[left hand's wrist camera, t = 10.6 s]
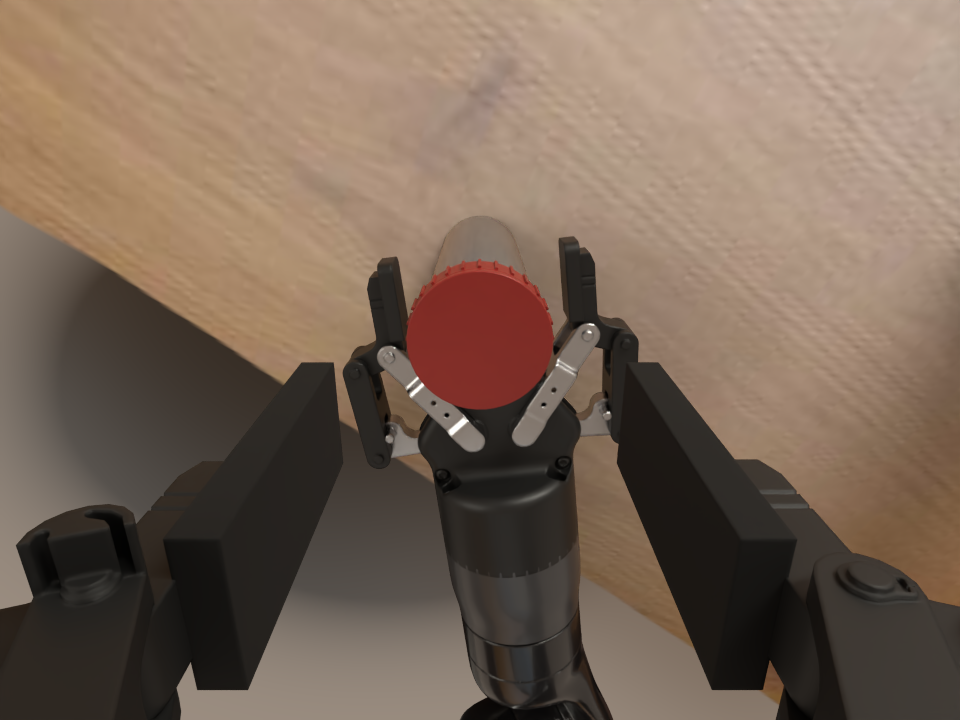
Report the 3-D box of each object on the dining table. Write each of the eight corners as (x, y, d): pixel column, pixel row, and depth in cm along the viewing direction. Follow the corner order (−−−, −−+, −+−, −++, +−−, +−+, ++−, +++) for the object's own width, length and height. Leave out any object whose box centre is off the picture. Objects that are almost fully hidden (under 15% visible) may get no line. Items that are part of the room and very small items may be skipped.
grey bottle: (431, 231, 33) (395, 300, 19) (503, 204, 33) (521, 256, 19) (457, 301, 35) (441, 414, 21) (527, 277, 34) (560, 375, 20)
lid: (388, 286, 20) (380, 298, 19) (524, 238, 20) (528, 247, 18) (439, 408, 22) (436, 429, 20) (566, 368, 21) (573, 386, 20)
